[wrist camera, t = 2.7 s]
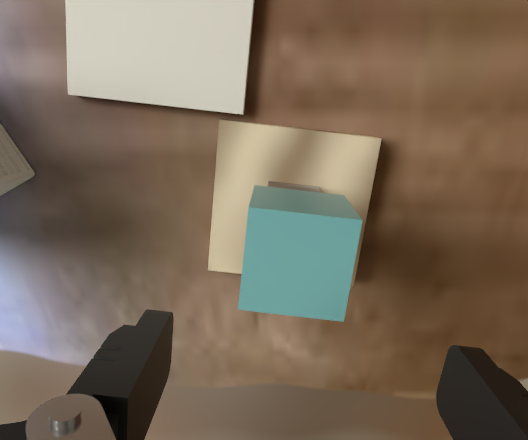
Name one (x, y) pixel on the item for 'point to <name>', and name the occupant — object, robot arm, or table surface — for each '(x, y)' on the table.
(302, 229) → the teal cube block
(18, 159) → the supplement box
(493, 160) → the table surface
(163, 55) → the pad
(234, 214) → the post stand
